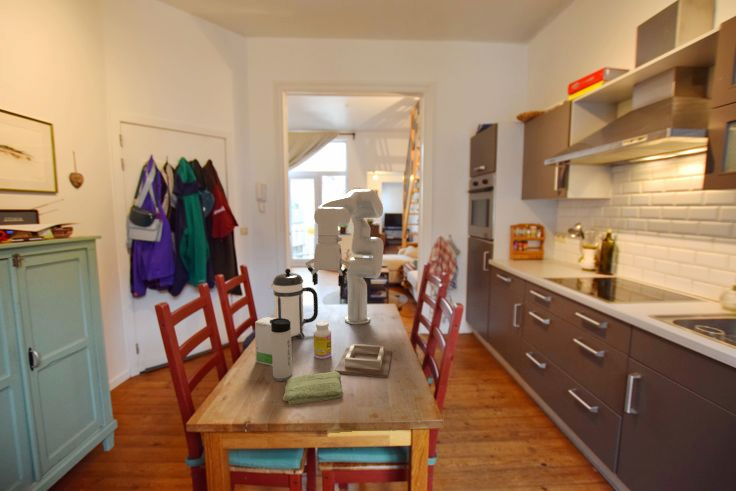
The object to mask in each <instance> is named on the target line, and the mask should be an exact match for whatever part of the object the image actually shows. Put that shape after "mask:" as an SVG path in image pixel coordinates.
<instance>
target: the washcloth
mask: <svg viewBox="0 0 736 491" xmlns="http://www.w3.org/2000/svg"><path fill="white" fill-rule="evenodd" d="M341 377H342V376H341V374H339V373H338V372H336V371H335V370H334V371H333V370H332V371H329V372H324V373H323V372H322V373H321V372H318V373H311V374H305V375H294V376H292V377H291V378H289V379H288V380H286V384H285V386H284V394H283V397H282V400H283V401H285V402H288V405H290V406H292V405H298V404H305V403H312V402H313V403H314V402H320V401H327V400H335V399H340V398H341V397H343V395H344V391H343V388H342V384H341Z"/></svg>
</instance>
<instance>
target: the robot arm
mask: <svg viewBox="0 0 736 491" xmlns="http://www.w3.org/2000/svg"><path fill="white" fill-rule="evenodd" d="M383 214H384V207H383V203H382V201H381V199H380V197H379V195H378V194H377V192H376V191H375V190H373V189H371V188H369V189H352V190H350V191H348V192H347V193H346V194H345V195H343V196H342V197H340V198H335V199H333V200H329V201H326V202H323V203H322V204H321V205H319V206H318V207H317V208H316V210H315V211H314V214H313V215H314V216H313V218H314V219H313V220H314V222H315V223H316V225H317V243H316V245H315V247H314V249H315V250H314V255H313V256H314V257H313V259H311V260H308V261H306V262H305V266H306V268H307V270H308V271H309V273H311V274H310V275H312V276H311V277H312V280H311V281H312V283H313V286H316V285H318V282H319V275H318V272H319V271H330V272H331V271H334V272H335V271H336V273H338V276H337V277H338V278H337V279H338V282H337V283H338V284H337V285H338V287H341V286H342V285H344V275H345V274H346V279H347V315H346V316H345V317H344V321H345V322H346V323H347V324H350V325H365V324H368V323H370V322H371V317H370V316H369V315H368V285H367V282H366V280H365V279H364V278H367V279H378V278H380V276H381V274H382V269H383V268H382V267H383V266H382V265H383V259H384V258H383V257H384V247H385V246H384V245H385V244H384V241H383V239H382V238H381V237H378V236H371V231H372V229H371V226H370V224H369V223H368V221H367V220H366V219H379V218H381V216H383ZM351 221H352V223H353V224H352V225H353V232H352V233H353V234H352V242H351V253H352V254H353V255H355V256H356V257H350V258H348V259H347V260H345V259H343V257H342V256H343V255H342V247H341V246H342V245H341V244H340V242H342V241H343V240H342V237H340V236H339V227H345V226H347V225H349V224H350V222H351ZM357 256H361V257H357ZM312 264H313V267H312ZM343 265H344V266H345V267H344V269H342V268H343Z"/></svg>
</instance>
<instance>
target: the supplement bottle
mask: <svg viewBox="0 0 736 491" xmlns="http://www.w3.org/2000/svg"><path fill="white" fill-rule="evenodd" d="M315 327H316V328H315V329H314V331H313V356H314V357H315V358H316V359H320V360H322V359H323V360H325V359H328V358H330V357H331V355H332V330H331V329H330V327H329V322H328V321H325V320H322V321H317V322H316V323H315Z"/></svg>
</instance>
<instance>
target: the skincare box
mask: <svg viewBox="0 0 736 491" xmlns="http://www.w3.org/2000/svg"><path fill="white" fill-rule="evenodd" d="M273 319H276V318H275V317H270V316H263V318H260V319H258V320H256V321H255V322H254V324H255V325H254V326H255V328H254V330H255V331H254V333H255V337H254V338H255V342H254V343H255V363H258V364H262V365H267V366H271V367H273V362H272V338H271V324H270V320H273Z"/></svg>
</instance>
